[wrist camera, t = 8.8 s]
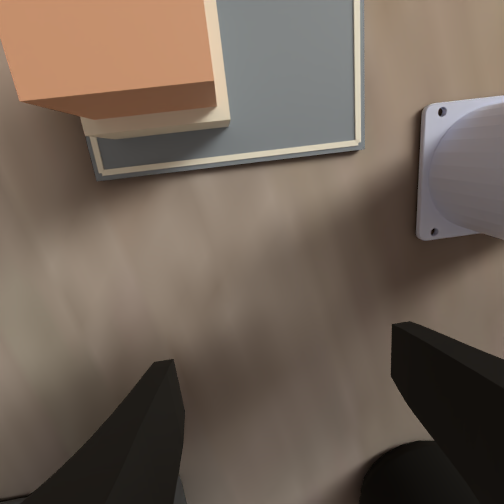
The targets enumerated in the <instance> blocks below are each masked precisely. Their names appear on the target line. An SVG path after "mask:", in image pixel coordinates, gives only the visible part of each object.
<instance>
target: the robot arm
mask: <svg viewBox="0 0 504 504" xmlns="http://www.w3.org/2000/svg"><path fill="white" fill-rule="evenodd" d="M440 108H441V109H442V115H441V116H439V115H438V110H439V109H440ZM432 229H435V231H434V233H433V234H431V230H432ZM479 233H483V234H486V235H489V236H492V237H496V238H499V239H502V240H504V95H502V96H493V97H485V98H476V99H467V100H458V101H450V102H441V103H433V104H429V105H427V106H426V107H424V109H423V111H422V117H421V138H420V159H419V181H418V202H417V224H416V236H417V237H418V238H419V239H421V240H423V241H428V240H435V239H442V238H449V237H457V236H464V235H471V234H479ZM391 377H392V379H393V381H394V382H395V384H396V386H397V388H398V390H399V391H400V393H401V395H402V396H403V398H404V400H405V401H406V403H407V405H408V406H409V407H410V409H411V410H412V411H413V413H414V414H415V415H416V417H417V418H418V419H419V421H420V422H421V423H422V425H423V426H424V427H425V429H426V430H427V431H428V433H429V434H430V435H431V436H432V438H433V439H434V440H435V442H436V443H437V444H438V446H439V447H440V448H441V450H442V451H443V452H444V453H445V455H446V456H447V457H448V459H449V460H450V461H451V463H452V464H453V465H454V467H455V468H456V469H457V471H458V472H459V473H460V475H461V476H462V477H463V479H464V480H465V482H466V483H467V484H468V486H469V487H470V489H471V490H472V492H473V493H474V495H475V497H476V498H477V500H478V501H479V503H480V504H504V359H501V358H498V357H496V356H493V355H491V354H488V353H486V352H483V351H481V350H478V349H476V348H474V347H471V346H469V345H466V344H464V343H462V342H459V341H457V340H455V339H452V338H450V337H448V336H445V335H443V334H441V333H438V332H436V331H434V330H431V329H429V328H426V327H424V326H421V325H419V324H416V323H413V322H410V321H409V322H403V323H397V324H392V348H391ZM184 419H185V410H184V405H183V400H182V396H181V391H180V387H179V382H178V378H177V373H176V369H175V364H174V359H171V360H164V361H158V362H154V363H153V364H152V365H151V367H150V368H149V369H148V370H147V371H146V373H145V374H144V375H143V376H142V378H141V379H140V380H139V382H138V383H137V384H136V385H135V387H134V388H133V389H132V390H131V392H130V393H129V394H128V395H127V397H126V398H125V399H124V400H123V401H122V403H121V404H120V405H119V406H118V408H117V409H116V410H115V411H114V412H113V414H112V415H111V416H110V417H109V418H108V419H107V420H106V421H105V422H104V424H103V425H102V426H101V427H100V428H99V429H98V430H97V431H96V432H95V434H94V435H93V436H92V437H91V438H90V439H89V440H88V441H87V442H86V443H85V444H84V445H83V446H82V447H81V448H80V449H79V450H78V451H77V452H76V453H75V454H74V455H73V456H72V457H71V458H70V459H69V460H68V461H67V462H66V463H65V464H64V465H63V466H62V467H61V468H60V469H59V470H58V471H57V472H56V473H55V474H54V475H52V476H51V477H50V478H49V479H48V480H47V481H46V482H45V483H43V484H42V485H41V486H40V487H39V488H38V489H36V490H35V491H34V492H33V493H32V494H31V495H30V496H28V497H27V498H26V499H25V500H24V501H23V502H21V503H20V504H174V497H175V491H176V485H177V479H178V473H179V467H180V461H181V455H182V448H183V439H184Z"/></svg>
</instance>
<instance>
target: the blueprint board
mask: <svg viewBox="0 0 504 504" xmlns="http://www.w3.org/2000/svg"><path fill="white" fill-rule="evenodd" d="M204 8H205V15H206V23H207V30H208V38H209V45H210V53H211V60H212V68H213V75H214V83H215V92H216V101H217V106H215V107H206V108H197V109H188V110H179V111H170V112H161V113H152V114H143V115H134V116H125V117H116V118H107V119H98V120H92V119H88V118H84V117H80V119H81V123H82V127H83V131H84V135H85V138H86V141H87V145H88V149H89V153H90V157H91V161H92V165H93V169H94V173H95V177H96V181H104V180H112V179H120V178H129V177H137V176H145V175H154V174H162V173H170V172H179V171H187V170H195V169H204V168H212V167H220V166H229V165H237V164H245V163H254V162H262V161H270V160H279V159H287V158H295V157H303V156H312V155H320V154H328V153H337V152H345V151H353V150H362V149H365V126H364V0H204Z"/></svg>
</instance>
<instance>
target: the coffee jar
mask: <svg viewBox="0 0 504 504" xmlns="http://www.w3.org/2000/svg"><path fill="white" fill-rule="evenodd" d="M359 504H480V503H479V501H478V500H477V498H476V497H475V495H474V493H473V492H472V490H471V489H470V487H469V486H468V484H467V483H466V482H465V480H464V479H463V477H462V476H461V475H460V473H459V472H458V471H457V469H456V468H455V467H454V465H453V464H452V463H451V461H450V460H449V459H448V457H447V456H446V455H445V453H444V452H443V451H442V450H441V448H440V447H439V446H438V444H437V443H436V442H435V441H416V442H413V443H409V444H405V445H401V446H399V447H397V448H395V449H393V450H392V451H390V452H388V453H386V454H385V455H383V456H382V457H381V458H380V459H379V460H378V461H376V462H375V463H374V464H373V465H372V467H371V468H370V470H369V471H368V473H367V474H366V476H365V477H364V481H363V485H362V489H361V496H360V500H359Z"/></svg>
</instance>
